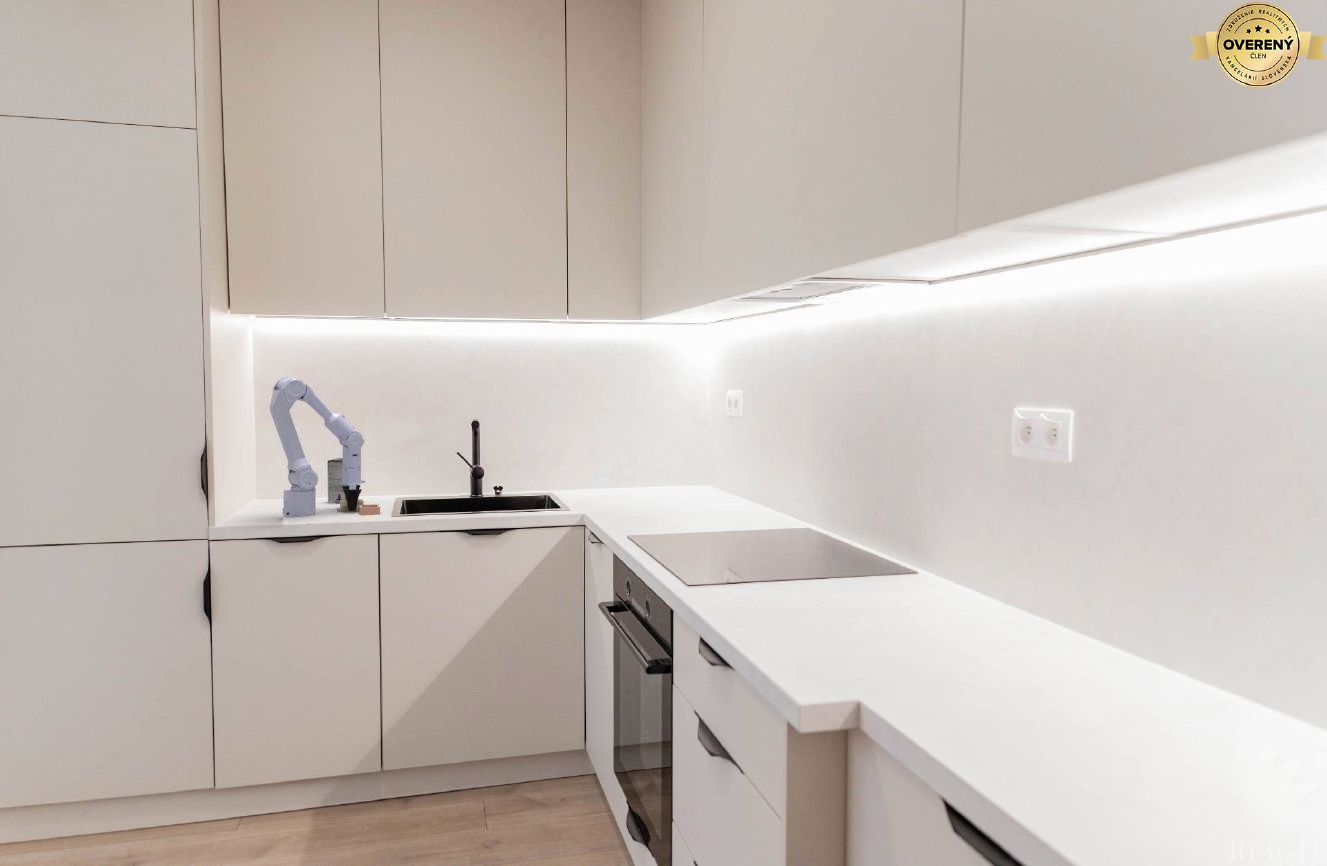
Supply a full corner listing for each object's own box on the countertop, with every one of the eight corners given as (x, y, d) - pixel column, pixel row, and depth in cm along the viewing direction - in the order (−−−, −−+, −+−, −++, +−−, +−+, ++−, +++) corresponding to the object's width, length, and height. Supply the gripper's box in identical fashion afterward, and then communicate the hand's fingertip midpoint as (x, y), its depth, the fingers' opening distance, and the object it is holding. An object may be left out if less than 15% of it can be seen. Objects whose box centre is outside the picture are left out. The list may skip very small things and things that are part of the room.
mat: (337, 515, 262) (337, 511, 262) (336, 512, 269) (336, 508, 268) (367, 514, 266) (367, 510, 266) (365, 511, 272) (365, 507, 272)
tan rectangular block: (340, 511, 263) (340, 502, 263) (340, 508, 268) (340, 499, 268) (363, 510, 266) (363, 501, 266) (362, 508, 271) (362, 499, 271)
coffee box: (338, 502, 288) (338, 457, 287) (356, 503, 288) (356, 458, 287) (327, 506, 279) (327, 460, 278) (345, 507, 279) (345, 460, 278)
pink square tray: (360, 518, 257) (360, 507, 257) (359, 515, 263) (359, 504, 263) (380, 517, 260) (380, 507, 259) (378, 514, 265) (378, 504, 265)
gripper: (366, 469, 261) (366, 511, 262) (363, 464, 274) (363, 504, 275) (342, 470, 258) (342, 512, 259) (341, 465, 272) (341, 505, 272)
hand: (351, 508), depth 267 cm, fingers open, 7 cm apart
